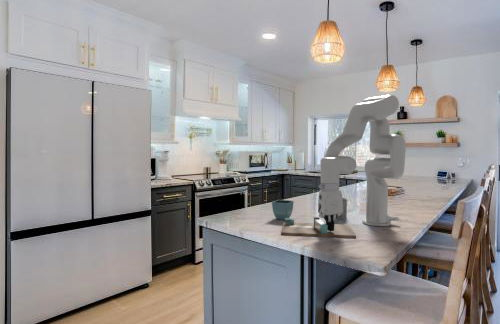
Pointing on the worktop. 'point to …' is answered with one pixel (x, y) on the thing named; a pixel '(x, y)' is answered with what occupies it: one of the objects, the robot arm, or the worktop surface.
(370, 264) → the worktop surface
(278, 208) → the flower pot
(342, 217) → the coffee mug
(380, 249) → the worktop surface
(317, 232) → the walnut board
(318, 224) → the swing bar
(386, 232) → the worktop surface
